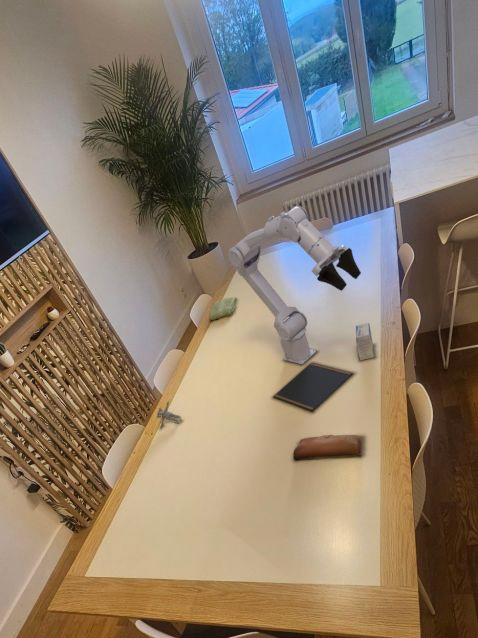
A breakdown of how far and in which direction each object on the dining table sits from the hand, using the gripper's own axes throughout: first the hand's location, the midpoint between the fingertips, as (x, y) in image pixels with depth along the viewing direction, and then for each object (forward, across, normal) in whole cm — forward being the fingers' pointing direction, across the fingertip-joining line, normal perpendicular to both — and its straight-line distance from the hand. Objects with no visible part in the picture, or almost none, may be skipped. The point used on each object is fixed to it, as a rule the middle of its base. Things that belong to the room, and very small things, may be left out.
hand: (351, 282), depth 112 cm
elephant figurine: (-14, -38, +65) cm, 76 cm away
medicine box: (+18, +12, +23) cm, 31 cm away
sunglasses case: (+28, -32, +18) cm, 46 cm away
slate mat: (+13, -8, +31) cm, 34 cm away
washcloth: (-46, +35, +87) cm, 105 cm away
